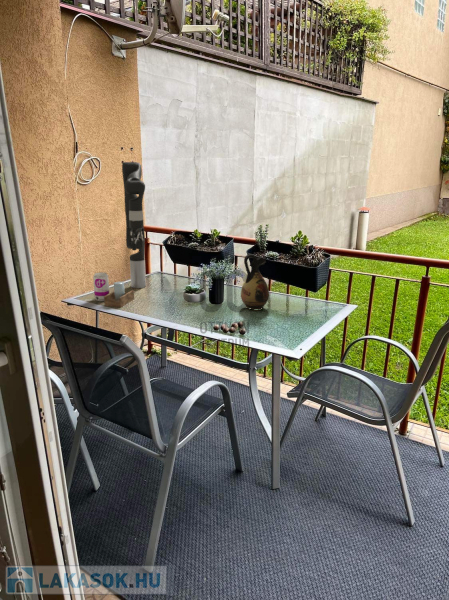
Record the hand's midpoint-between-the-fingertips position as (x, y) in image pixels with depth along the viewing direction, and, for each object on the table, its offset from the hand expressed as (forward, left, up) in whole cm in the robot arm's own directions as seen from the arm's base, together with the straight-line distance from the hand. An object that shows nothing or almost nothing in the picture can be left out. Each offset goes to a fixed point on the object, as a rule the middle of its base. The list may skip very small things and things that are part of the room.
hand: (137, 248), depth 243 cm
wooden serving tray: (+5, -10, -30) cm, 32 cm away
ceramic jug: (-7, +64, -30) cm, 71 cm away
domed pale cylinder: (+5, -10, -29) cm, 31 cm away
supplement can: (+3, -22, -30) cm, 38 cm away
